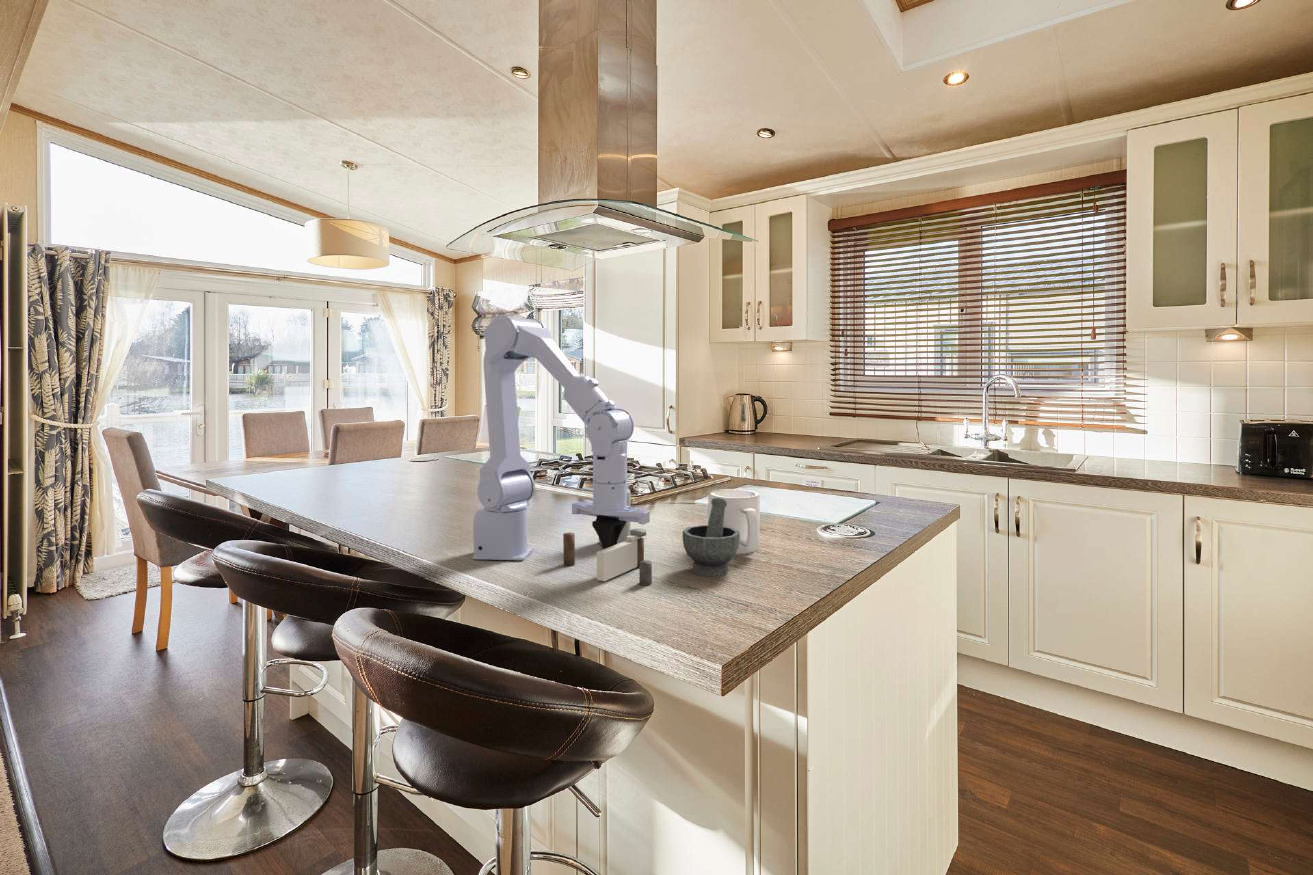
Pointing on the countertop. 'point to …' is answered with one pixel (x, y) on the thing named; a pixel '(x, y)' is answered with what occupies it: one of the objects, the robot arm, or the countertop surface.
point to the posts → (644, 566)
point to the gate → (619, 556)
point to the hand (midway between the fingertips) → (609, 560)
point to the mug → (740, 515)
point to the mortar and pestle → (711, 542)
